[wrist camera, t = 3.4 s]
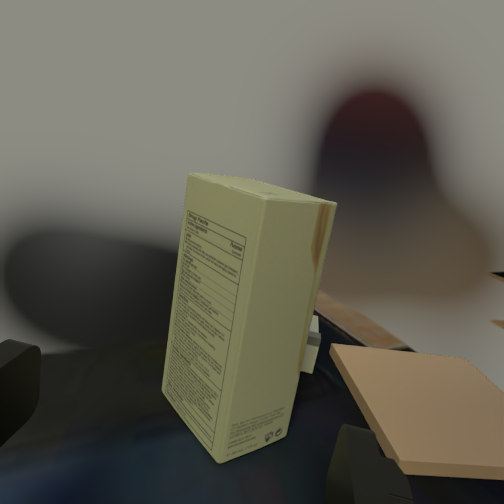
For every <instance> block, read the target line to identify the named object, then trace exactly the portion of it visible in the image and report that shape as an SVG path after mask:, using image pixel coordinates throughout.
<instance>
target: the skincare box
mask: <svg viewBox="0 0 504 504" xmlns="http://www.w3.org/2000/svg"><path fill="white" fill-rule="evenodd" d="M336 207H337V203H335V202H330V201H326V200H323V199H320V198H316V197H313V196H310V195H306V194H302V193H298V192H295V191H291V190H288V189H284V188H281V187H278V186H274V185H270V184H267V183H264V182H261V181H258V180H253V179H248V178H241V177H233V176H224V175H215V174H207V173H189V174H188V179H187V187H186V196H185V204H184V212H183V213H184V214H183V221H182V230H181V238H180V245H179V254H178V262H177V270H176V278H175V286H174V294H173V303H172V311H171V319H170V327H169V336H168V343H167V351H166V360H165V368H164V376H163V384H162V392H163V394H164V395H165V396H166V398H167V399H168V401H169V402H170V403H171V405H172V406H173V408H174V409H175V410H176V411H177V413H178V414H179V415H180V417H181V418H182V419H183V421H184V422H185V423H186V425H187V426H188V427H189V428H190V430H191V431H192V432H193V433H194V435H195V436H196V437H197V438H198V440H199V441H200V442H201V443H202V445H203V446H204V447H205V448H206V449H207V451H208V452H209V453H210V454H211V456H212V457H213V458H214V459H215V461H216V462H217V463H224V462H226V461H228V460H231V459H234V458H236V457H239V456H241V455H244V454H247V453H249V452H252V451H254V450H256V449H259V448H261V447H264V446H266V445H268V444H270V443H272V442H275V441H277V440H279V439H281V438H283V437H285V436H286V434H287V430H288V425H289V421H290V416H291V412H292V407H293V403H294V399H295V394H296V390H297V385H298V380H299V375H300V370H301V367H302V361H303V357H304V352H305V348H306V344H307V339H308V334H309V330H310V326H311V321H312V317H313V311H314V307H315V302H316V298H317V294H318V289H319V284H320V279H321V275H322V270H323V266H324V261H325V257H326V252H327V247H328V243H329V238H330V234H331V229H332V225H333V220H334V216H335V211H336Z"/></svg>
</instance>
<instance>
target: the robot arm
mask: <svg viewBox="0 0 504 504" xmlns="http://www.w3.org/2000/svg"><path fill="white" fill-rule="evenodd" d="M40 366H41V351H40V348H39V347H38V346H35V345H31V344H27V343H23V342H19V341H15V340H11V339H8V340H5V341H3V342H2V343H0V447H1V446H2V445H3V444H4V443H5V442H6V441H7V440H8V439H9V438H10V437H11V436H12V435H13V434H14V433H15V432H16V431H18V430H19V429H20V428H21V427H22V426H23V425H24V424H25V423H26V422H27V421H28V420H29V418H30V417H31V416H32V414H33V412H34V410H35V408H36V406H37V403H38V400H39V389H40ZM324 504H414V498H413V495H412V491H411V488H410V485H409V481H408V478H407V477H406V476H405V474H404V473H403V471H402V470H401V469H400V467H399V466H398V464H397V463H396V461H395V460H394V459H391V458H387V457H383V456H380V453H379V448H378V444H377V439H376V435H375V432H374V431H371V430H367V429H363V428H359V427H355V426H351V425H347V424H343V425H342V426H341V428H340V431H339V435H338V438H337V442H336V445H335V448H334V452H333V455H332V459H331V462H330V466H329V469H328V473H327V477H326V482H325V490H324Z"/></svg>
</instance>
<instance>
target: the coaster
mask: <svg viewBox="0 0 504 504" xmlns="http://www.w3.org/2000/svg"><path fill="white" fill-rule="evenodd" d="M329 354H330V355H331V357H332V359H333V361H334V363H335V365H336V366H337V368H338V370H339V372H340V374H341V375H342V377H343V379H344V381H345V383H346V384H347V386H348V388H349V390H350V392H351V394H352V395H353V397H354V399H355V401H356V403H357V404H358V406H359V408H360V410H361V412H362V414H363V415H364V417H365V419H366V421H367V423H368V424H369V426H370V428H371V430H372V431H374V432H375V435H376V439H377V441H378V443H379V444H380V446H381V448H382V450H383V452H384V453H385V455H386V457H387V458H391V459H394V460H395V461H396V463H397V464H398V466H399V467H400V469H401V470H402V471H403V473H404V474H410V475H427V476H445V477H462V478H479V479H496V480H504V393H503V392H502V391H501V390H500V389H499V388H498V387H497V386H496V385H494V384H493V383H492V382H491V381H490V380H489V379H488V378H487V377H485V376H484V375H483V374H482V373H481V372H480V371H479V370H478V369H477V368H475V367H474V366H473V365H472V364H471V363H470V362H469V361H467V360H466V359H465V358H459V357H450V356H440V355H431V354H423V353H414V352H405V351H396V350H387V349H378V348H369V347H360V346H351V345H342V344H333V343H332V344H331V348H330V351H329Z"/></svg>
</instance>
